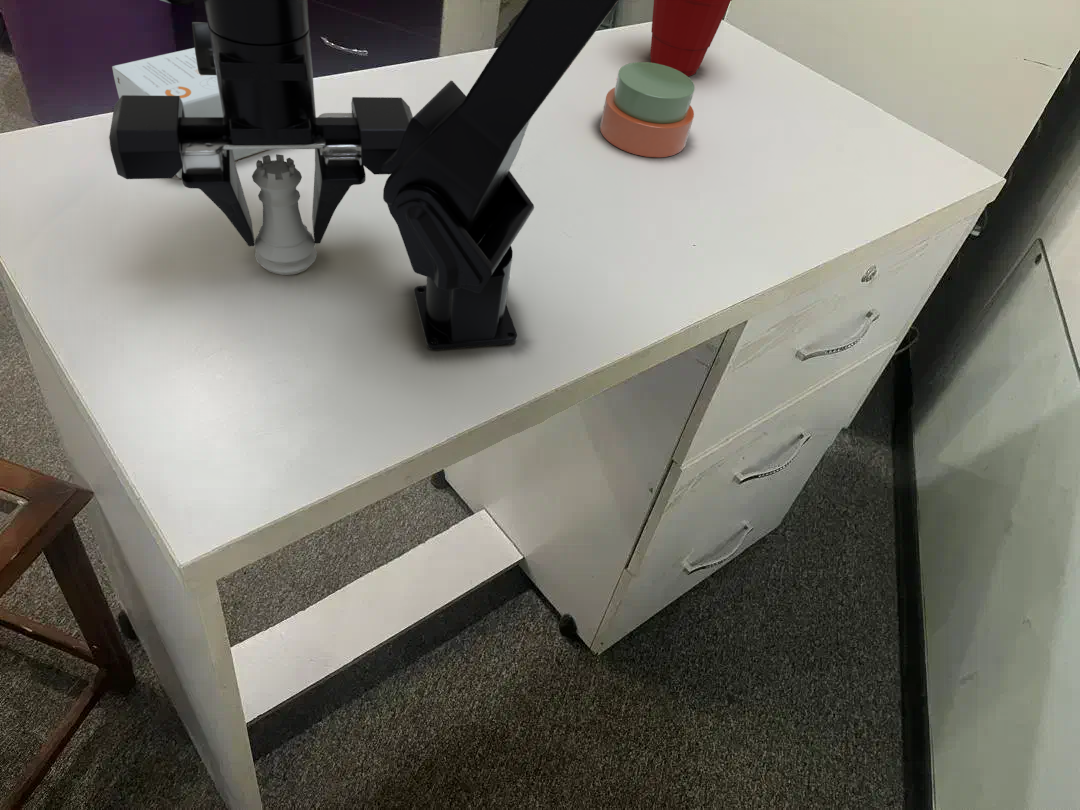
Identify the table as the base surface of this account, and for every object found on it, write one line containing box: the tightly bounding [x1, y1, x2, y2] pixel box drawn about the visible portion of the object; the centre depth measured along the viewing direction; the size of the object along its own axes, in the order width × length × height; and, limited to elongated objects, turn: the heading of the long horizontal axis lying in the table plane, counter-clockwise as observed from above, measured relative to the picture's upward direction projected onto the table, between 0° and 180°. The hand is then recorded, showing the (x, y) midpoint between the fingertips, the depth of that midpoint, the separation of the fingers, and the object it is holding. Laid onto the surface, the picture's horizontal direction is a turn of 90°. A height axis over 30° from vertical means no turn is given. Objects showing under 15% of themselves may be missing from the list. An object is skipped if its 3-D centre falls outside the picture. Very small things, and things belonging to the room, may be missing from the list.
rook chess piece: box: [251, 153, 318, 276], centre depth 56 cm, size 4×4×8 cm
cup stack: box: [599, 61, 696, 158], centre depth 78 cm, size 9×9×6 cm
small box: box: [111, 47, 268, 179], centre depth 67 cm, size 8×6×13 cm
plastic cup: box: [649, 0, 733, 77], centre depth 89 cm, size 11×11×12 cm
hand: (285, 241), depth 58 cm, fingers closed on rook chess piece, 4 cm apart
